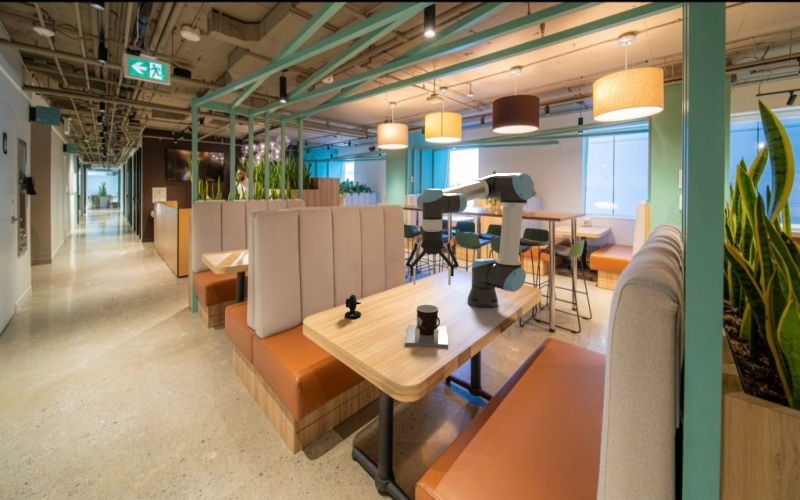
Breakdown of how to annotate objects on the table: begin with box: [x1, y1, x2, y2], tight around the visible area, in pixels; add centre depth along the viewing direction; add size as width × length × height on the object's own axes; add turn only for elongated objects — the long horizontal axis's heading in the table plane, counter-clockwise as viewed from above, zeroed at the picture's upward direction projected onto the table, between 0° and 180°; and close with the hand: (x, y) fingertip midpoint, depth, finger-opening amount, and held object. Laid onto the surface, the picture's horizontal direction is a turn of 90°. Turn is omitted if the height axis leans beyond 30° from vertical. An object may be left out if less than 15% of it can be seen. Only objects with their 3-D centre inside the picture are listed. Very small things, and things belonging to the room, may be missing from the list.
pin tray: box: [404, 314, 449, 349], centre depth 134 cm, size 16×17×6 cm
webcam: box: [344, 294, 362, 320], centre depth 155 cm, size 8×8×10 cm
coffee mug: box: [416, 304, 441, 336], centre depth 133 cm, size 12×9×10 cm
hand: (431, 284), depth 133 cm, fingers open, 13 cm apart
